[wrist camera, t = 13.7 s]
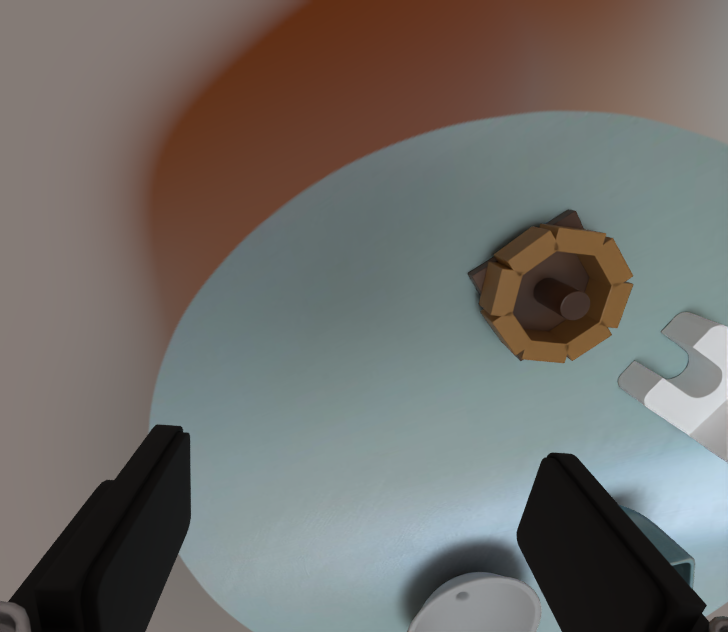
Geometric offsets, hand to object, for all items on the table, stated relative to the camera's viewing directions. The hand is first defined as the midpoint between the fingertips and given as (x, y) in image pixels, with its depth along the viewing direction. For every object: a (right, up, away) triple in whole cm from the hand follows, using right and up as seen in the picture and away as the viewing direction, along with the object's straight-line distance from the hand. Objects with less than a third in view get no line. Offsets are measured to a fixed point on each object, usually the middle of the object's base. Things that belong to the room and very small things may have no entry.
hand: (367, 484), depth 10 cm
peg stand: (+16, +7, +25) cm, 31 cm away
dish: (+12, -30, +38) cm, 50 cm away
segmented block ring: (+16, +7, +24) cm, 30 cm away
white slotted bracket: (+36, -3, +30) cm, 46 cm away
